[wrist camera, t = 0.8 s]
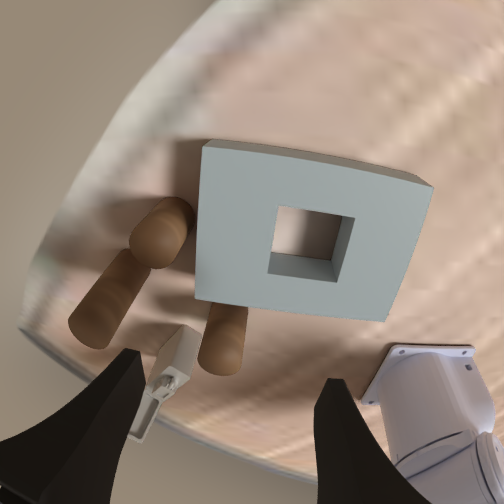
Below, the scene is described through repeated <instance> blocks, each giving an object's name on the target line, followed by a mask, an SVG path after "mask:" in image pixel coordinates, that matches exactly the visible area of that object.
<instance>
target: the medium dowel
mask: <svg viewBox="0 0 504 504" xmlns="http://www.w3.org/2000/svg"><path fill="white" fill-rule="evenodd" d="M247 317H248V307H245V306H238V305H231V304H225V303H218V302H213V303H212V306H211V310H210V313H209V317H208V320H207V324H206V328H205V331H204V335H203V339H202V342H201V346H200V350H199V353H198V358H197V360H198V363H199V365H200V366H201V367H202V368H203V369H204V370H205V371H207V372H209V373H211V374H214V375H219V376H228V375H232V374H234V373H236V372H237V371H239V369H240V368H241V363H242V355H243V348H244V340H245V332H246V324H247Z"/></svg>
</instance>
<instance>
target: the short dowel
mask: <svg viewBox="0 0 504 504" xmlns="http://www.w3.org/2000/svg"><path fill="white" fill-rule="evenodd" d="M194 222H195V215H194V211H193V209H192V207H191V206H190V205H189V204H188V203H187V202H186V201H185V200H183V199H181V198H178V197H167V198H165V199H163V200H161V201H160V202H159V203H158V204H157V205H156V206H155V207H154V208H153V210H152V211H151V212H150V213H149V214H148V215H147V216H146V217H145V218H144V219H143V220H142V221H141V222H140V223H139V224H138V226H137V227H136V228H135V229H134V230H133V231H132V233H131V235H130V239H129V245H130V249H131V252H132V254H133V256H134V257H135V258H136V259H137V260H138V261H139V262H140V263H141V264H143V265H144V266H146V267H149V268H153V269H162V268H165V267H167V266H169V265H170V264H171V263H172V262H173V261H174V259H175V257H176V255H177V254H178V252H179V250H180V248H181V246H182V245H183V243H184V241H185V239H186V238H187V236H188V234H189V232H190V231H191V229H192V227H193V225H194Z"/></svg>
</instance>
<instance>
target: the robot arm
mask: <svg viewBox="0 0 504 504" xmlns="http://www.w3.org/2000/svg"><path fill="white" fill-rule="evenodd" d="M401 350H402V351H401ZM475 351H476V349H475V347H474V346H420V345H394V346H393V347H391V349H390V351H389V352H388V354H387V356H386V358H385V360H384V362H383V363H382V365H381V367H380V369H379V370H378V372H377V374H376V376H375V377H374V379H373V381H372V382H371V384H370V386H369V387H368V389H367V391H366V392H365V394H364V396H363V397H362V399H361V404H363V405H380V407H381V412H382V416H383V421H384V426H385V431H386V436H387V441H388V446H389V451H390V456H391V461H390V460H389V458H388V457H387V456H386V454H385V453H384V452H383V450H382V449H381V447H380V446H379V444H378V443H377V441H376V439H375V438H374V436H373V435H372V433H371V431H370V430H369V428H368V426H367V424H366V423H365V421H364V419H363V417H362V415H361V414H360V412H359V410H358V408H357V406H356V404H355V402H354V400H353V398H352V396H351V394H350V392H349V390H348V387H347V385H346V383H345V381H344V380H343V379H332V378H328V379H327V381H326V383H325V386H324V388H323V390H322V392H321V394H320V396H319V398H318V400H317V402H316V405H315V407H314V440H315V451H316V462H317V473H318V500H317V504H504V447H503V445H502V444H501V442H500V440H499V439H498V437H497V436H496V435H495V434H493V433H492V430H493V428H494V424H495V406H494V402H493V399H492V397H491V395H490V393H489V391H488V388H487V386H486V384H485V382H484V380H483V378H482V376H481V374H480V372H479V370H478V368H477V366H476V364H475V362H474V360H473V358H472V356H473V355H474V353H475ZM145 385H146V381H145V376H144V371H143V365H142V360H141V355H140V351H136V350H132V349H128V348H125V349H123V351H122V352H121V353H120V354H119V355H118V356H117V357H116V358H115V359H114V360H113V361H112V362H111V363H110V364H109V365H108V366H107V368H106V369H105V370H104V371H103V372H102V373H101V374H100V375H99V376H98V377H97V378H96V379H94V380H93V381H92V382H91V383H90V384H89V385H88V387H86V388H85V389H84V390H83V391H82V392H80V393H79V394H78V395H77V396H76V397H75V398H74V399H73V400H71V401H70V402H69V403H67V404H66V405H65V406H64V407H62V408H61V409H60V410H58V411H57V412H56V413H54V414H53V415H51V416H50V417H48V418H46V419H45V420H43V421H42V422H40V423H39V424H37V425H35V426H33V427H31V428H29V429H28V430H26V431H24V432H22V433H20V434H18V435H16V436H14V437H11V438H8V439H6V440H3V441H1V442H0V485H1V488H0V504H110V497H111V491H112V487H113V482H114V477H115V473H116V469H117V465H118V461H119V458H120V454H121V451H122V448H123V446H124V443H125V441H126V438H127V436H128V433H129V431H130V429H131V426H132V424H133V421H134V419H135V416H136V414H137V411H138V409H139V406H140V403H141V400H142V396H143V392H144V389H145Z"/></svg>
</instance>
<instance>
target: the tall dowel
mask: <svg viewBox="0 0 504 504" xmlns="http://www.w3.org/2000/svg"><path fill="white" fill-rule="evenodd" d="M150 271H151V268H149V267H146V266H144V265H143V264H141V263H140V262H139V261H138V260H137V259H136V258H135V257H134V256H133V254H132V252H131V249H125V250H123V251H121V252H120V253H119V254H118V256H117V257H116V258H115V259H114V260H113V262H112V263H111V264H110V265H109V267H108V268H107V269H106V270H105V271H104V273H103V274H102V275H101V276H100V278H99V279H98V280H97V281H96V283H95V284H94V285H93V287H92V288H91V289H90V290H89V292H88V293H87V294H86V296H85V297H84V298H83V299H82V301H81V302H80V303H79V305H78V306H77V307H76V309H75V310H74V311H73V313H72V314H71V315H70V317H69V319H68V324H69V328H70V330H71V332H72V333H73V335H74V336H75V337H76V338H77V339H78V340H79V341H80V342H81V343H83V344H84V345H86V346H88V347H90V348H93V349H104V348H106V347H107V346H108V345H109V343H110V341H111V339H112V337H113V336H114V334H115V332H116V330H117V329H118V327H119V325H120V323H121V321H122V320H123V318H124V316H125V315H126V313H127V311H128V309H129V308H130V306H131V304H132V303H133V301H134V299H135V298H136V296H137V294H138V293H139V291H140V289H141V288H142V286H143V284H144V283H145V281H146V279H147V278H148V276H149V274H150Z"/></svg>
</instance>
